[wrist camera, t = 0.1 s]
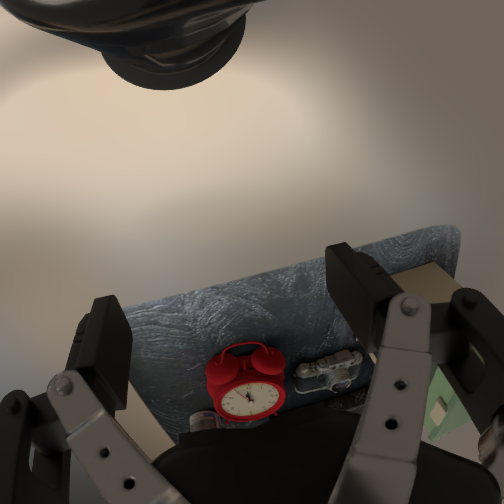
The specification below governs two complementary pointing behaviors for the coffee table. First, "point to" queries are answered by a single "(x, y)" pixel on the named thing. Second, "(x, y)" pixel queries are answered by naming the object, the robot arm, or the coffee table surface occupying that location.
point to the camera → (328, 372)
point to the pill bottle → (204, 421)
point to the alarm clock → (247, 383)
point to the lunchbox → (444, 407)
